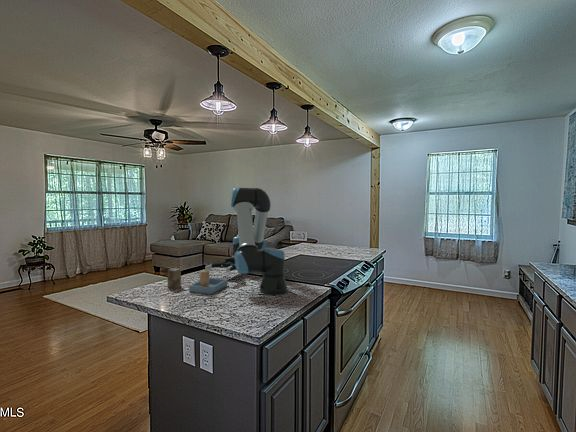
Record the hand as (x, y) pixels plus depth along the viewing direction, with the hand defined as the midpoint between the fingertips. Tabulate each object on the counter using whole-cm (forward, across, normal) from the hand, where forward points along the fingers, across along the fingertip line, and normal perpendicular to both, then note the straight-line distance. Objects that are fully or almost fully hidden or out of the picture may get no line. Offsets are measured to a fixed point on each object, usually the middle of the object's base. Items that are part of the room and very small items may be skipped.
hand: (216, 269), depth 185 cm
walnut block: (+13, +19, -9) cm, 25 cm away
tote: (+10, -1, -8) cm, 13 cm away
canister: (+14, -1, -8) cm, 16 cm away
